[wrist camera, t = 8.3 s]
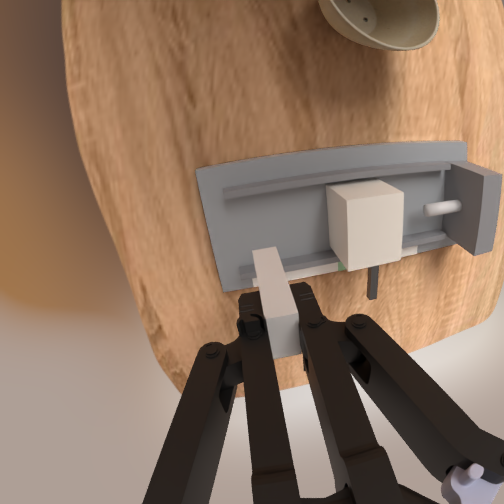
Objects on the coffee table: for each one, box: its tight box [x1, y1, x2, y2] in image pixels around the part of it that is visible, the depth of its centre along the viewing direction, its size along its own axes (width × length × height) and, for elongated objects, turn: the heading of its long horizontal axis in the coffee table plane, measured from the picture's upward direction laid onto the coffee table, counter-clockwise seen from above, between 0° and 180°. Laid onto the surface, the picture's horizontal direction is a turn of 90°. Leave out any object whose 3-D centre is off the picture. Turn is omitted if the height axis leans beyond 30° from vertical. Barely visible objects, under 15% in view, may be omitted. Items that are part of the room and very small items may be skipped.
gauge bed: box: [195, 141, 502, 292], centre depth 25 cm, size 12×28×7 cm, turn 99°
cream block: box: [326, 178, 404, 300], centre depth 25 cm, size 10×5×5 cm, turn 9°
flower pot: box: [318, 0, 440, 51], centre depth 16 cm, size 10×10×7 cm
